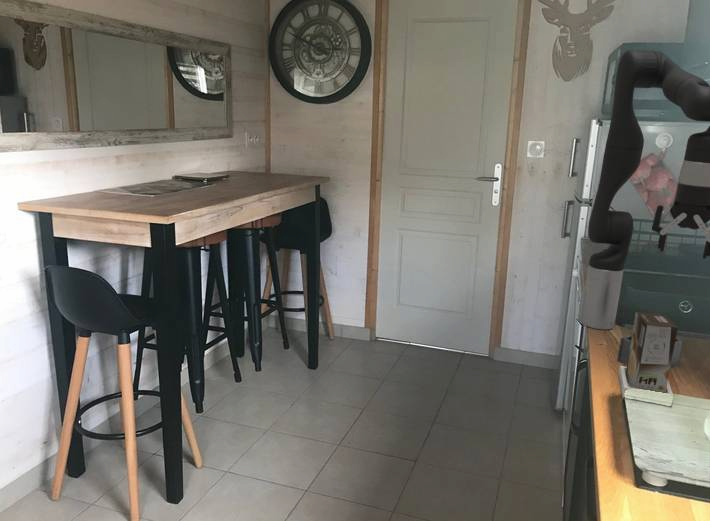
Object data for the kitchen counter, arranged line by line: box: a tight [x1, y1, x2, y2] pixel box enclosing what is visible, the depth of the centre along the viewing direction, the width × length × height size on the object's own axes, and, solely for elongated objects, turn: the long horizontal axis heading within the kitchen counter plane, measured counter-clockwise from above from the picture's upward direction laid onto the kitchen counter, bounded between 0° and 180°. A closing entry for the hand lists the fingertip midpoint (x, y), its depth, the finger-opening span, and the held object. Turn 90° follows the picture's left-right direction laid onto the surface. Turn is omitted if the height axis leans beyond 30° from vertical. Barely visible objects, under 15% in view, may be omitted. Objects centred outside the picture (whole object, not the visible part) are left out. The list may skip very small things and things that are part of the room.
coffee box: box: [625, 311, 678, 393], centre depth 132 cm, size 9×6×16 cm
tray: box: [618, 365, 674, 399], centre depth 134 cm, size 13×10×2 cm
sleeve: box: [616, 333, 685, 369], centre depth 149 cm, size 10×13×6 cm
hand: (682, 254), depth 136 cm, fingers open, 8 cm apart
